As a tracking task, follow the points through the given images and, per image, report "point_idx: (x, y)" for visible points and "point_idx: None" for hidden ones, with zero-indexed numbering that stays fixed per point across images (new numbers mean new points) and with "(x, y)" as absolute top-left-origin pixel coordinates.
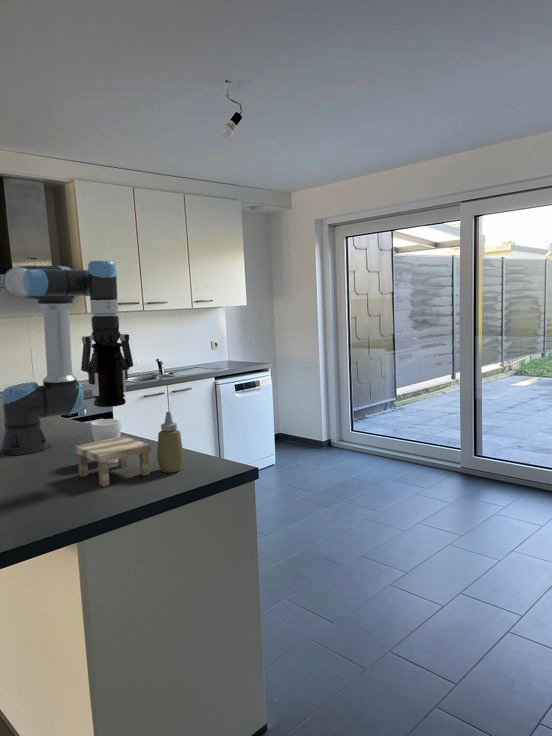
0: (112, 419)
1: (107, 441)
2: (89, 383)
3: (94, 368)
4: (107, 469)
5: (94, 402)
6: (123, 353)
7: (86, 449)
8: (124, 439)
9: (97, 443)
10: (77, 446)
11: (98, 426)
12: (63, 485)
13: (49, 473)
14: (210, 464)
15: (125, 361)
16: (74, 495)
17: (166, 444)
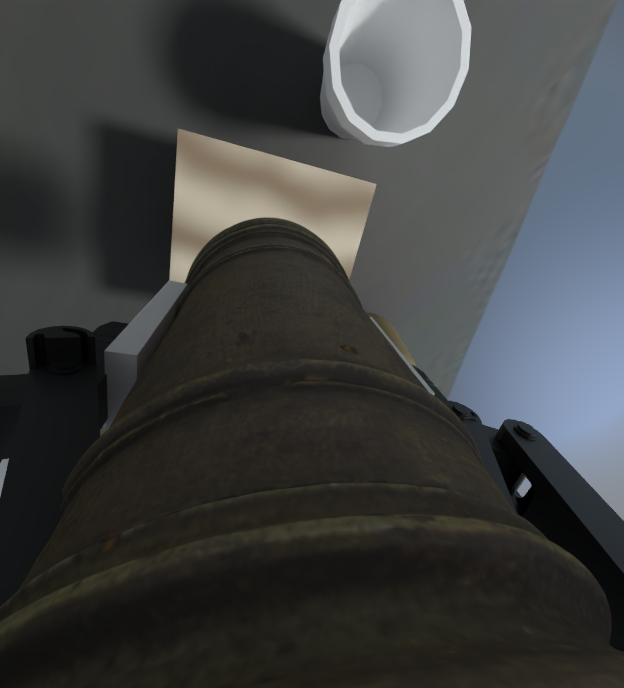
0: (461, 32)
1: (294, 194)
2: (107, 327)
3: None
4: None
5: (187, 275)
6: (600, 551)
7: (180, 222)
8: (341, 229)
9: (255, 183)
10: (182, 147)
11: (330, 88)
12: (125, 190)
13: (151, 12)
14: (423, 369)
15: (522, 464)
16: (110, 286)
17: None
